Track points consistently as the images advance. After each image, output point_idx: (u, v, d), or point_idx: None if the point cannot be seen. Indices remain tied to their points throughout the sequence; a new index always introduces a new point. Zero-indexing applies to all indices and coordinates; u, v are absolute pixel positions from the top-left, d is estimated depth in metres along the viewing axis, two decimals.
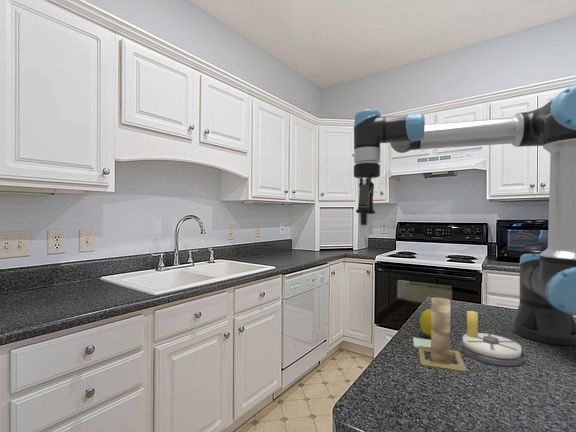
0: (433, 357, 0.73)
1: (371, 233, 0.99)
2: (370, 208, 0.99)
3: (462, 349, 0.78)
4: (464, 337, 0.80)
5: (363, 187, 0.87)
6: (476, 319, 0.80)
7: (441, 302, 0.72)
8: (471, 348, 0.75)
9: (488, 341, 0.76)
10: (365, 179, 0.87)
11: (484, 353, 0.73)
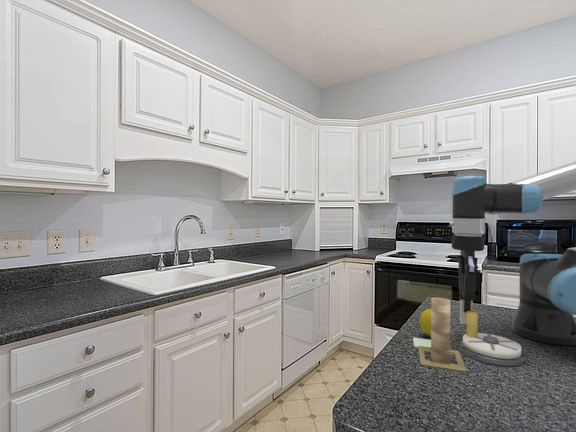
0: (433, 357, 0.73)
1: None
2: None
3: (462, 349, 0.78)
4: (464, 337, 0.80)
5: (470, 275, 0.79)
6: (476, 319, 0.80)
7: (441, 302, 0.72)
8: (472, 348, 0.75)
9: (488, 341, 0.76)
10: (473, 268, 0.78)
11: (485, 353, 0.73)
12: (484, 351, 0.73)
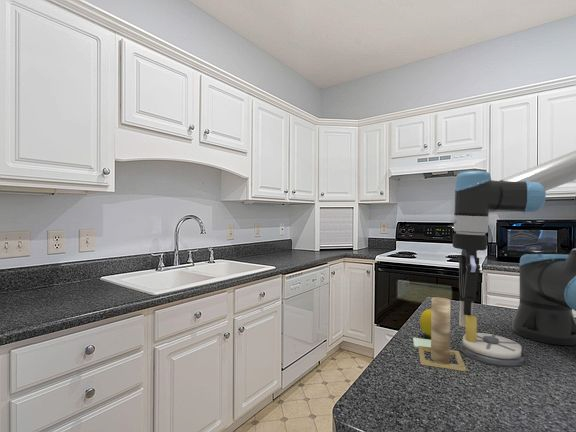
0: (433, 357, 0.73)
1: None
2: None
3: (462, 349, 0.78)
4: (474, 345, 0.75)
5: (471, 276, 0.75)
6: (476, 322, 0.77)
7: (441, 302, 0.72)
8: (496, 355, 0.72)
9: (495, 342, 0.75)
10: (475, 268, 0.74)
11: (510, 356, 0.71)
12: (509, 354, 0.71)
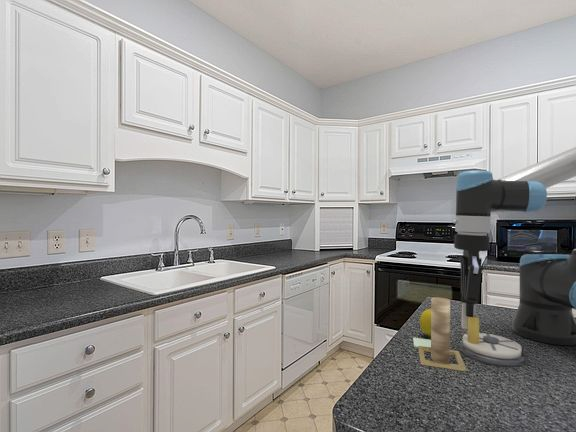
0: (433, 357, 0.73)
1: None
2: None
3: (462, 349, 0.78)
4: (480, 347, 0.74)
5: (473, 277, 0.74)
6: None
7: (441, 302, 0.72)
8: (503, 356, 0.71)
9: (496, 342, 0.76)
10: (477, 269, 0.73)
11: (515, 356, 0.71)
12: (515, 354, 0.71)
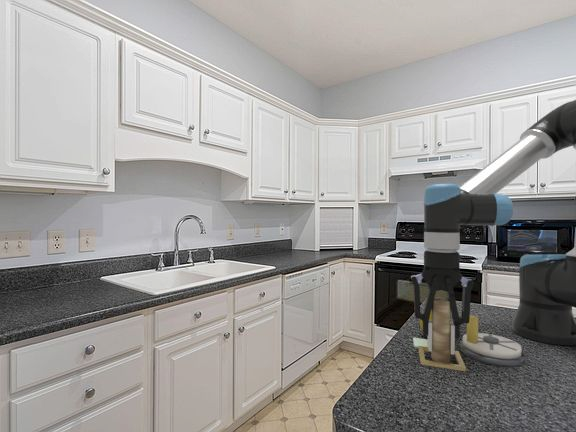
0: (433, 357, 0.73)
1: (450, 351, 0.72)
2: (452, 314, 0.73)
3: (462, 349, 0.78)
4: (478, 346, 0.74)
5: None
6: None
7: (441, 302, 0.72)
8: (500, 356, 0.71)
9: (496, 342, 0.75)
10: (411, 279, 0.76)
11: (513, 356, 0.71)
12: (513, 354, 0.71)
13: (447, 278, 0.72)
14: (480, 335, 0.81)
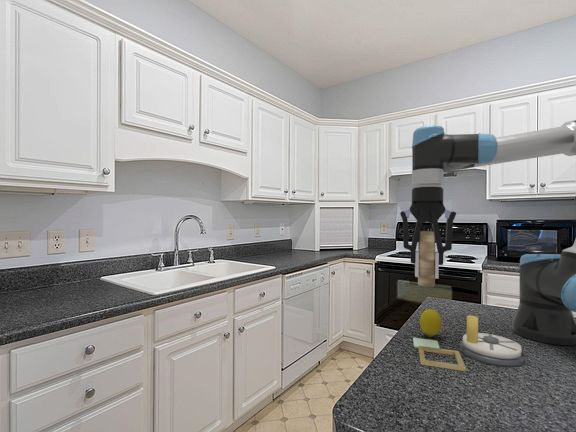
0: (420, 283, 0.82)
1: None
2: (436, 243, 0.81)
3: (462, 349, 0.78)
4: (478, 346, 0.74)
5: None
6: None
7: (427, 232, 0.81)
8: (500, 356, 0.71)
9: (496, 342, 0.75)
10: (400, 214, 0.84)
11: (513, 356, 0.71)
12: (513, 354, 0.71)
13: (432, 210, 0.80)
14: (480, 335, 0.81)
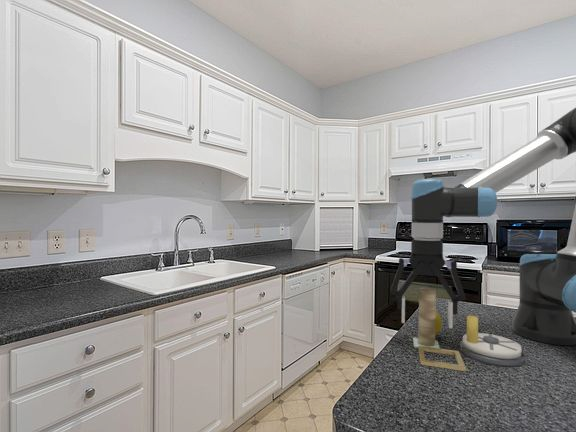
0: (420, 341, 0.82)
1: (448, 326, 0.80)
2: (448, 293, 0.80)
3: (462, 349, 0.78)
4: (478, 346, 0.74)
5: (398, 269, 0.85)
6: None
7: (428, 291, 0.81)
8: (500, 356, 0.71)
9: (496, 342, 0.75)
10: (399, 260, 0.84)
11: (513, 356, 0.71)
12: (513, 354, 0.71)
13: (431, 264, 0.80)
14: (480, 335, 0.81)
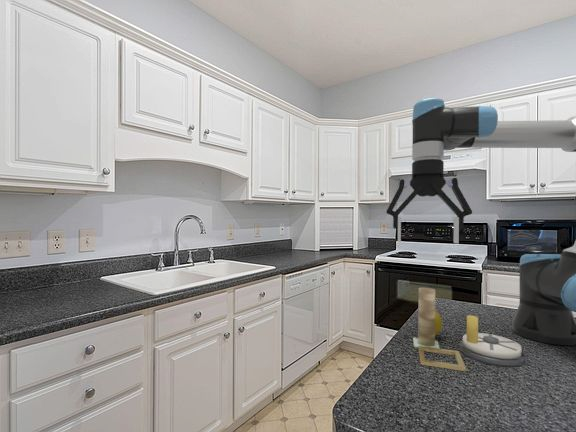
0: (420, 341, 0.82)
1: (454, 241, 0.79)
2: (453, 210, 0.80)
3: (462, 349, 0.78)
4: (478, 346, 0.74)
5: None
6: None
7: (427, 291, 0.81)
8: (500, 356, 0.71)
9: (496, 342, 0.75)
10: None
11: (513, 356, 0.71)
12: (513, 354, 0.71)
13: (432, 183, 0.80)
14: (480, 335, 0.81)
